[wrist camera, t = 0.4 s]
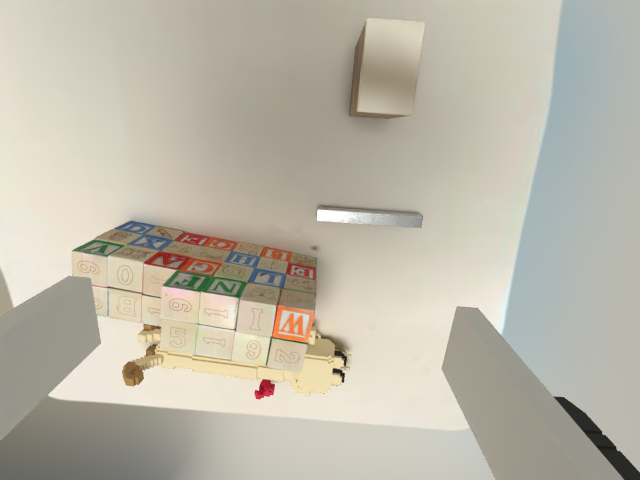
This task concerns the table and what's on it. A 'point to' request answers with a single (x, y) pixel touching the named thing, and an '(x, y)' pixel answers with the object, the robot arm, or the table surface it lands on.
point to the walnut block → (386, 68)
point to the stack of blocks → (204, 292)
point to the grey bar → (369, 217)
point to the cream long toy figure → (248, 365)
